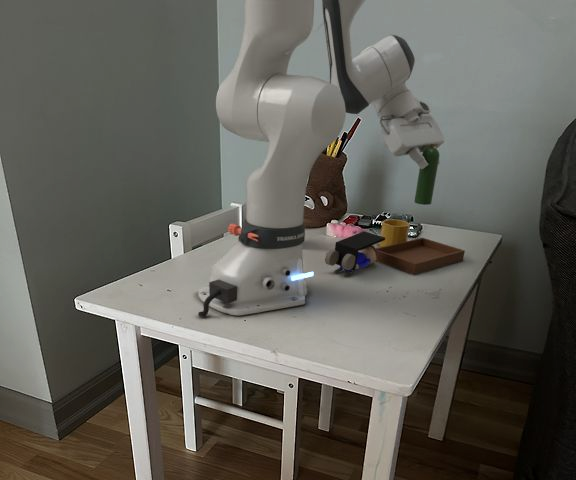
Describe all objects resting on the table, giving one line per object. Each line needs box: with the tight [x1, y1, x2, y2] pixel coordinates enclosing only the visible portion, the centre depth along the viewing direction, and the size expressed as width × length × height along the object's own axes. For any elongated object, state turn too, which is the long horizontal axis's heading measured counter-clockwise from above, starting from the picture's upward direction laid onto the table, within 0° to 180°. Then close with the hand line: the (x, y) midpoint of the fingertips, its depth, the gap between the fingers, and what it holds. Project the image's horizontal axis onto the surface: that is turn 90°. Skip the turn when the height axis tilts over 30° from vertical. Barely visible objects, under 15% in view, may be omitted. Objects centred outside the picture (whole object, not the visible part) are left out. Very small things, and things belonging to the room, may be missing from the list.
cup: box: [379, 219, 411, 247], centre depth 143 cm, size 7×7×6 cm
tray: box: [375, 237, 466, 276], centre depth 135 cm, size 19×13×3 cm
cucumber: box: [414, 144, 440, 206], centre depth 128 cm, size 4×4×13 cm
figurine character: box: [324, 230, 385, 277], centre depth 125 cm, size 7×8×15 cm
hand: (431, 166), depth 127 cm, fingers closed on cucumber, 4 cm apart
